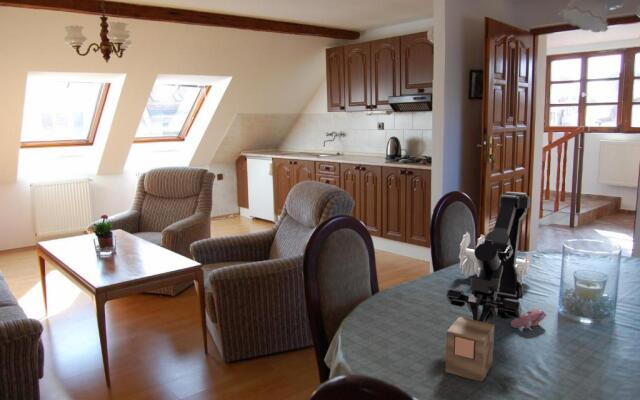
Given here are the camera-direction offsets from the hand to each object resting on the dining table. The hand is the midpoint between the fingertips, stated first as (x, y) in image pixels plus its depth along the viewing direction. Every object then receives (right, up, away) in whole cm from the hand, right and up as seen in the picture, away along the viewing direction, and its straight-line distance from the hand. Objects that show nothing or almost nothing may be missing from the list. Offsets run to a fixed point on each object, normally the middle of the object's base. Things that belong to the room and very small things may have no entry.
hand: (476, 332), depth 129 cm
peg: (-3, -3, -4) cm, 6 cm away
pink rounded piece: (+22, -4, +21) cm, 31 cm away
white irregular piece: (+25, +3, +61) cm, 66 cm away
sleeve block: (-3, -8, -3) cm, 9 cm away
